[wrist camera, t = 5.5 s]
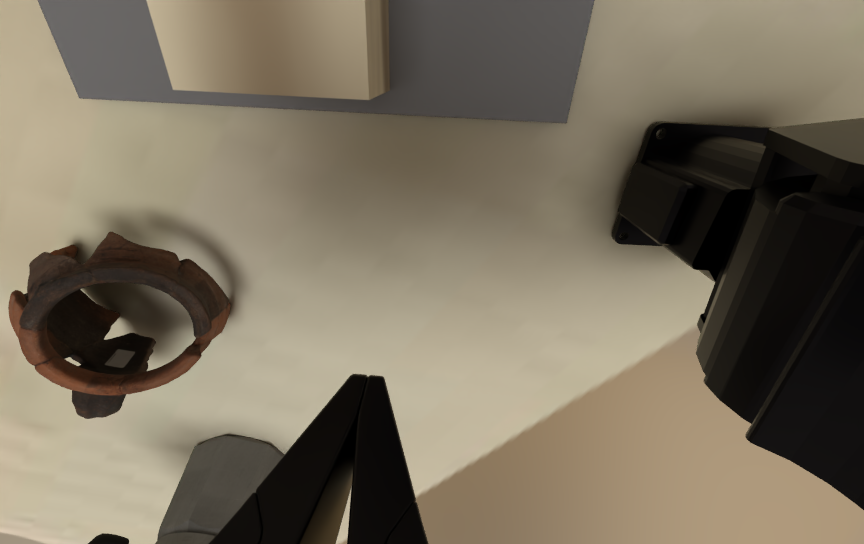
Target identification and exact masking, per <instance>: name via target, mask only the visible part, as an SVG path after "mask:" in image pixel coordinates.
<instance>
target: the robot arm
mask: <svg viewBox="0 0 864 544" xmlns="http://www.w3.org/2000/svg"><path fill="white" fill-rule="evenodd" d="M659 129H662V133H661V135H660V136H659V137H657V138H656V133H657V131H658V130H659ZM618 212H619V214H618V217H617V220H616V223H615V226H614V229H613V232H612V238H613V239H614V240H615V241H616V242H617V243H618V244H629V245H652V246H664V247H665V248H667V249H668V250H669V251H671V252H672V253H673V254H674V255H676V256H677V257H678V258H680V259H681V260H682V261H684V262H685V263H686V264H688V265H689V266H690V267H692V268H693V269H696V270H699V271H700V272H702V273H703V274H704V275H706V276H707V277H708V278H710V279H711V280H712V281H714V282H715V285H714V288H713V290H712V293H711V296H710V299H709V301H708V304H707V307H706V309H705V312H704V314H701V315H700V318H699V320H698V323H697V326H698V328H699V330H700V333H701V334H700V337H699V340H698V345H697V351H696V355H697V357H698V359H699V362H700V365H701V367H702V370H703V372H704V373H705V375H706V376H705V378H704V382H705V384H706V385H707V386H708V388H709V389H710V390H711V391H712V392H713V393H714V394H715V395H716V397H717V398H718V399H719V400H720V401H722V402H723V403H724V404H726V405H727V406H728V407H729V408H730V409H732V410H733V411H734V412H735V413H737V414H738V415H739V416H740V417H742V418H743V419H745V420H746V421H748V422H750V423H751V424H752V425H751V426H750V428H749V430H748V431H747V433H746V438H747V440H748V441H750V442H751V443H753V444H755V445H757V446H759V447H762V448H764V449H766V450H768V451H771V452H773V453H775V454H777V455H779V456H782V457H784V458H786V459H788V460H790V461H792V462H793V463H795V464H797V465H799V466H800V467H802V468H804V469H805V470H807V471H809V472H810V473H812V474H814V475H815V476H817V477H819V478H820V479H822V480H824V481H825V482H827V483H828V484H830V485H831V486H832V487H834V488H835V489H837V490H838V491H839V492H841V493H842V494H844V495H845V496H846V497H848V498H849V499H850V500H851V501H853V502H854V503H856V504H857V505H858V506H859V507H860V508H862V509H863V510H864V118H859V119H850V120H841V121H832V122H823V123H814V124H804V125H795V126H786V127H777V128H771V127H756V126H737V125H717V124H698V123H678V122H656V123H654V124H652V125H651V126H650V127H649V129H648V130H647V133H646V136H645V138H644V141H643V144H642V147H641V150H640V153H639V156H638V159H637V162H636V164H635V165H634V166H633V167H632V170H631V173H630V176H629V179H628V182H627V185H626V188H625V190H624V193H623V196H622V199H621V202H620V205H619V208H618ZM623 232H625V234H624V236H622V237H619V236H620V235H621V234H622V233H623ZM351 486H352V490H351V503H350V515H349V528H348V541H347V544H428V541H427V537H426V534H425V531H424V527H423V524H422V521H421V517H420V513H419V509H418V505H417V503H416V502H415V501H416V498H415V494H414V490H413V486H412V483H411V479H410V475H409V471H408V467H407V463H406V460H405V456H404V452H403V448H402V444H401V440H400V437H399V433H398V429H397V425H396V421H395V417H394V413H393V410H392V406H391V402H390V398H389V394H388V390H387V387H386V383H385V379H384V377H383V376H375V375H370V376H369V377H368V376H367V375H362V374H353V375H351V376H350V377H349V378H348V379H347V381H346V382H345V383H344V384H343V385H342V387H341V388H340V389H339V390H338V391H337V393H336V394H335V395H334V396H333V397H332V399H331V400H330V401H329V402H328V403H327V405H326V406H325V407H324V408H323V409H322V411H321V412H320V413H319V414H318V415H317V417H316V418H315V419H314V420H313V421H312V423H311V424H310V425H309V426H308V427H307V429H306V430H305V431H304V432H303V433H302V435H301V436H300V437H299V438H298V439H297V441H296V442H295V443H294V444H293V445H292V447H291V448H290V449H289V450H288V451H287V453H286V454H285V455H284V456H283V457H282V459H281V460H280V461H279V462H278V463H277V465H276V466H275V467H274V468H273V469H272V470H271V472H270V473H269V474H268V475H267V476H266V478H265V479H264V480H263V481H262V482H261V484H260V485H259V486H258V487H257V488H256V493H255V492H254V493H252V494H251V495H250V497H249V498H248V499H247V500H246V501H245V503H244V504H243V505H242V506H241V507H240V509H239V510H238V511H237V512H236V513H235V514H234V516H233V517H232V518H231V519H230V520H229V521H228V522H227V524H226V525H225V526H224V527H223V528H222V529H221V530H220V532H219V533H218V534H217V535H216V536H215V537H214V538H213V539H212V540H211V541H210V542H209V543H208V544H335V543H336V540H337V536H338V533H339V529H340V525H341V522H342V518H343V514H344V511H345V507H346V504H347V500H348V496H349V493H350V489H351Z"/></svg>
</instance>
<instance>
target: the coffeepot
mask: <svg viewBox="0 0 864 544" xmlns="http://www.w3.org/2000/svg"><path fill="white" fill-rule="evenodd" d="M283 456H284V454H283V453H282V452H280V451H279V450H278V449H277V448H275V447H273V446H271V445H269V444H267V443H265V442H262V441H260V440H257V439H253V438H249V437H243V436H220V437H215V438H212V439H209V440H207V441H205V442H204V443H202V444H200V445H197V446H195V447H194V450H193V452H192V454H191V456H190V459H189V461H188V463H187V466H186V468H185V470H184V473H183V475H182V477H181V480H180V482H179V484H178V487H177V489H176V491H175V494H174V496H173V498H172V500H171V503H170V505H169V507H168V510H167V512H166V514H165V517H164V519H163V521H162V524H161V526H160V529H159V533H158V539H157V540H158V541H157V542H156V544H208V543H209V542H210V541H211V540H212V539H213V538H214V537H215V536H216V535H217V534H218V533H219V532H220V530H221V529H222V528H223V527H224V526H225V525H226V524H227V522H228V521H229V520H230V519H231V518H232V517H233V516H234V514H235V513H236V512H237V511H238V510H239V509H240V507H241V506H242V505H243V504H244V503H245V501H246V500H247V499H248V498H249V497H250V495H251V494H252V493H254V492H255V493H256V488H257V487H258V486H259V485H260V484H261V482H262V481H263V480H264V479H265V478H266V476H267V475H268V474H269V473H270V472H271V470H272V469H273V468H274V467H275V466H276V465H277V463H278V462H279V461H280V460H281V459H282V457H283ZM88 544H129V539H127V538H125V537H122V536H118V535H113V534H101V535H98V536H96V537H95V538H94V539H93V540H92V541H91V542H89V543H88Z"/></svg>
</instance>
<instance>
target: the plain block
mask: <svg viewBox="0 0 864 544" xmlns="http://www.w3.org/2000/svg"><path fill="white" fill-rule="evenodd" d="M146 1H147V5H148V8H149V11H150V15H151V18H152V21H153V25H154V28H155V31H156V35H157V38H158V41H159V45H160V48H161V51H162V55H163V58H164V61H165V65H166V68H167V71H168V75H169V78H170V82H171V85H172V88H173V90H185V91H204V92H223V93H242V94H262V95H281V96H300V97H319V98H338V99H358V100H370V99H373V98H375V97H377V96H379V95H381V94H383V93H386V92H388V91H390V69H389V0H146Z"/></svg>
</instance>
